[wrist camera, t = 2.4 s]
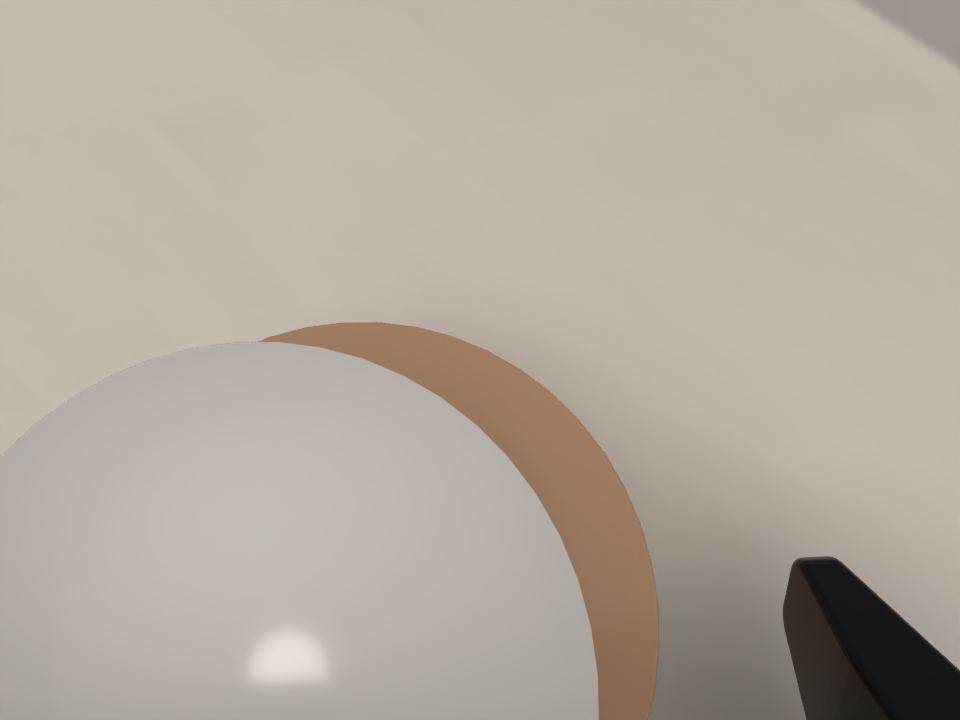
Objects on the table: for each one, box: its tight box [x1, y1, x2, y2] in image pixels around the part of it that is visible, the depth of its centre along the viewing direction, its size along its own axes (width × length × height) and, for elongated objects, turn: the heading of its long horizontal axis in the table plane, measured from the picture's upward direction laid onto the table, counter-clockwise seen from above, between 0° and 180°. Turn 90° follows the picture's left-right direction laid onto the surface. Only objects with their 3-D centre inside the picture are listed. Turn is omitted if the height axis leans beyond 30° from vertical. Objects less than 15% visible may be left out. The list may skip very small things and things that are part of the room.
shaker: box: [0, 323, 659, 720], centre depth 11 cm, size 6×6×12 cm
